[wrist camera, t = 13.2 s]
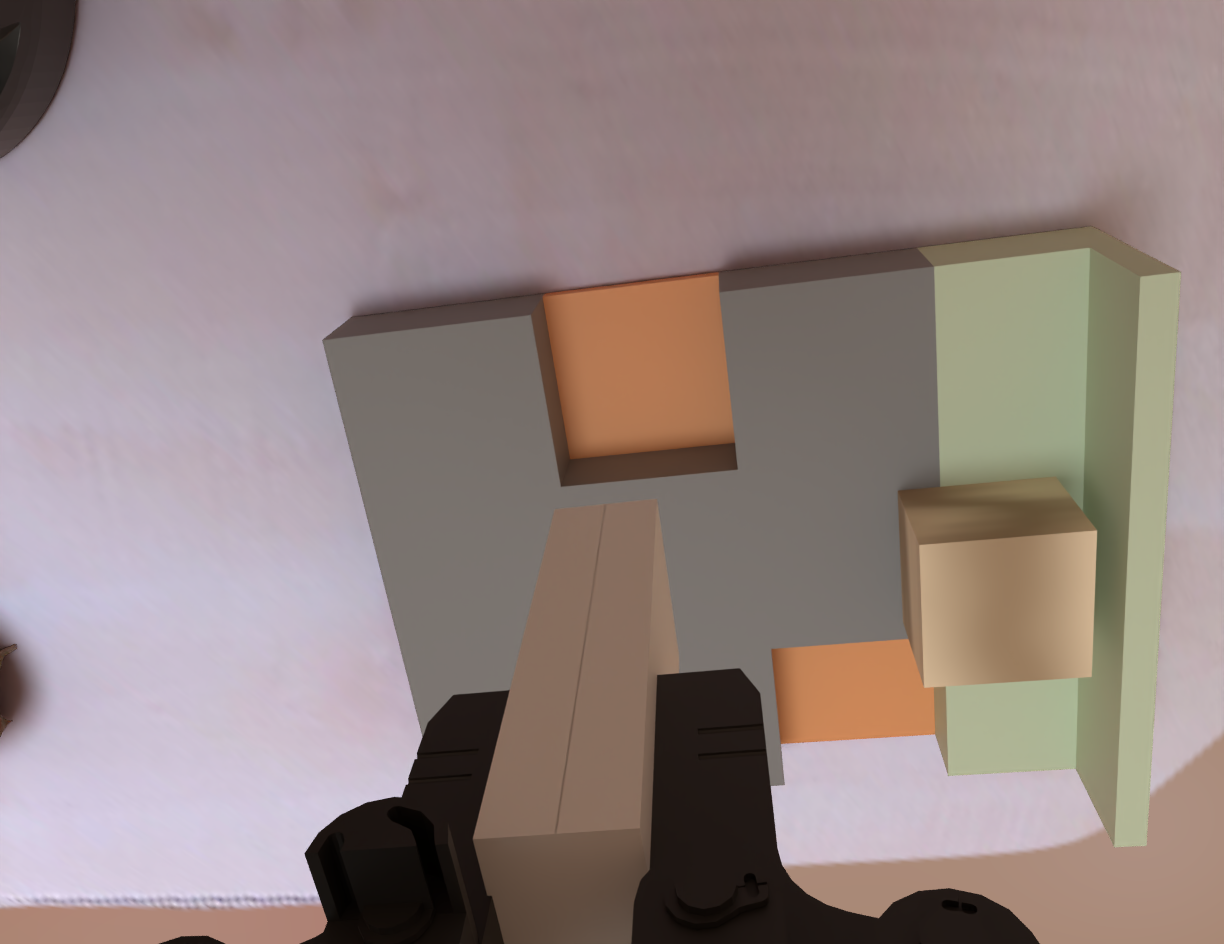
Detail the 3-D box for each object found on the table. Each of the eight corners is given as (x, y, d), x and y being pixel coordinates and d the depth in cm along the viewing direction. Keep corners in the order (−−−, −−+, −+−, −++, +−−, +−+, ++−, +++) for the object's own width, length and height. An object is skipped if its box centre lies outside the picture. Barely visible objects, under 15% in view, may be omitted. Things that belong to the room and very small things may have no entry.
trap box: (456, 756, 44) (413, 879, 38) (351, 317, 37) (275, 376, 31) (1078, 717, 41) (1146, 845, 34) (1092, 226, 34) (1180, 272, 27)
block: (902, 621, 37) (924, 687, 33) (897, 490, 35) (919, 545, 31) (1052, 610, 36) (1091, 677, 32) (1055, 476, 34) (1097, 530, 30)
